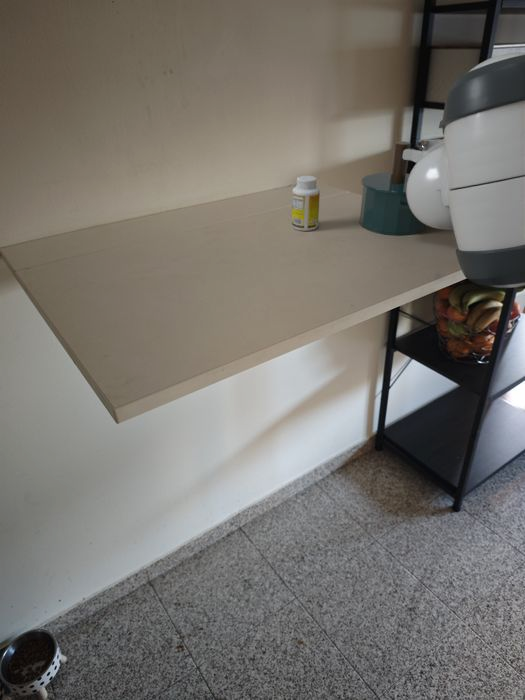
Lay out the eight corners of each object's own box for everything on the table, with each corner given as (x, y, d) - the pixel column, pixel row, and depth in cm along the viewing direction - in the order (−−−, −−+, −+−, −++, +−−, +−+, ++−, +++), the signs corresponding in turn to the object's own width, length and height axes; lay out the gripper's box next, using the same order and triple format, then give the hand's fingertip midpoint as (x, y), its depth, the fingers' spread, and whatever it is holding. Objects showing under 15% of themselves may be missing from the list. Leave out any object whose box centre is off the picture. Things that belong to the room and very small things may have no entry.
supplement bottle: (318, 223, 108) (320, 174, 102) (317, 232, 103) (320, 182, 98) (292, 222, 109) (293, 174, 103) (290, 231, 104) (292, 181, 98)
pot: (426, 217, 111) (433, 178, 106) (422, 238, 100) (430, 196, 96) (364, 211, 115) (369, 173, 110) (355, 231, 104) (359, 190, 99)
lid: (434, 180, 107) (442, 137, 102) (431, 200, 95) (440, 153, 91) (366, 175, 111) (370, 134, 106) (355, 193, 99) (360, 148, 94)
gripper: (469, 187, 86) (391, 177, 92) (491, 163, 101) (423, 155, 107) (477, 149, 83) (396, 141, 89) (499, 129, 97) (428, 123, 103)
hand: (411, 149), depth 98 cm, fingers open, 8 cm apart
